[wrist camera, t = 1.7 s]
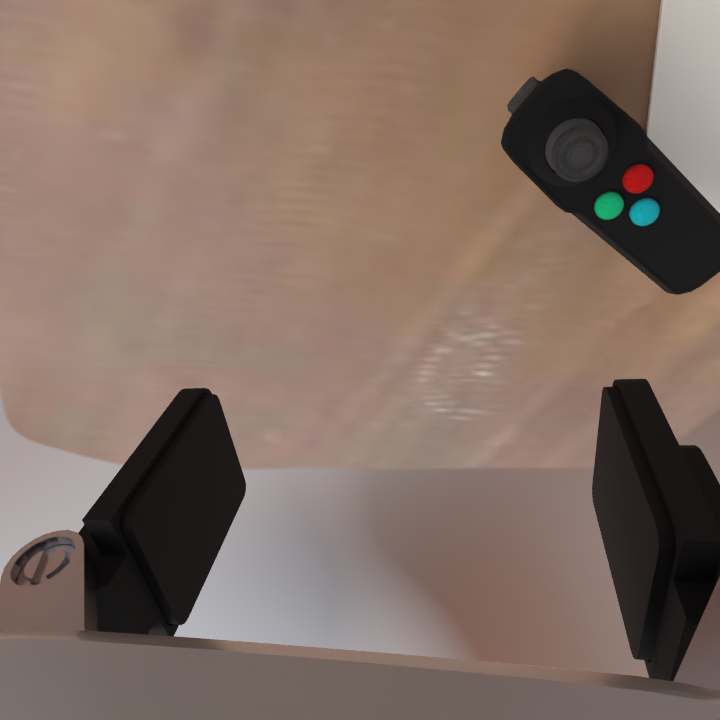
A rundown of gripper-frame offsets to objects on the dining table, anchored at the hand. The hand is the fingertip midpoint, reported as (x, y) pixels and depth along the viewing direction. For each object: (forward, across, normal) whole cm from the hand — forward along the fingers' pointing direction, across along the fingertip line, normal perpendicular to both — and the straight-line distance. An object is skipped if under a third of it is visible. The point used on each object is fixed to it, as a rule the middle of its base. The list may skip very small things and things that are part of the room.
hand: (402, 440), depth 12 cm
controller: (+24, -8, 0) cm, 26 cm away
